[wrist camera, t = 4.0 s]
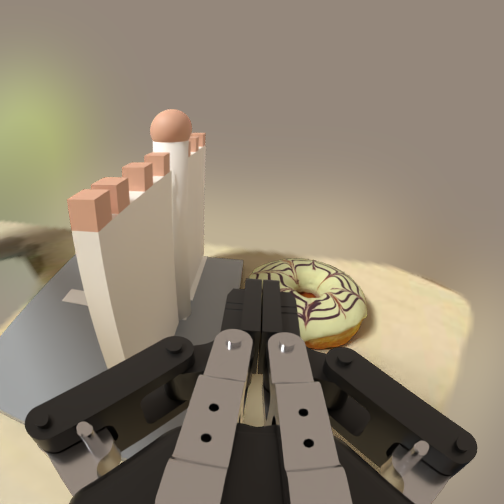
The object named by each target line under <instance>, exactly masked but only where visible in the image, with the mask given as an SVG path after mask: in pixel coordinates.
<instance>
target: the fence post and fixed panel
mask: <svg viewBox="0 0 504 504" xmlns="http://www.w3.org/2000/svg"><path fill="white" fill-rule="evenodd" d="M191 133H192V124H191V121H190V119H189V118H188V116H187V115H186V114H185V113H183V112H181V111H179V110H175V109H169V110H165V111H163V112H161V113H159V114H158V115H157V116H156V117H155V118H154V120H153V121H152V124H151V128H150V134H151V138H152V140H153V152H169V153H170V170H172V220H173V245H174V264H175V280H176V294H177V307H178V318H179V320H182V319H184V318H186V317H189V316H190V314H191V300H190V290H191V287H192V284H193V282H194V279H195V276H196V274H197V271H198V268H199V265H200V263H201V260H202V258H203V255H204V190H205V187H204V186H205V154H206V145H205V133H192V134H191Z"/></svg>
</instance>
